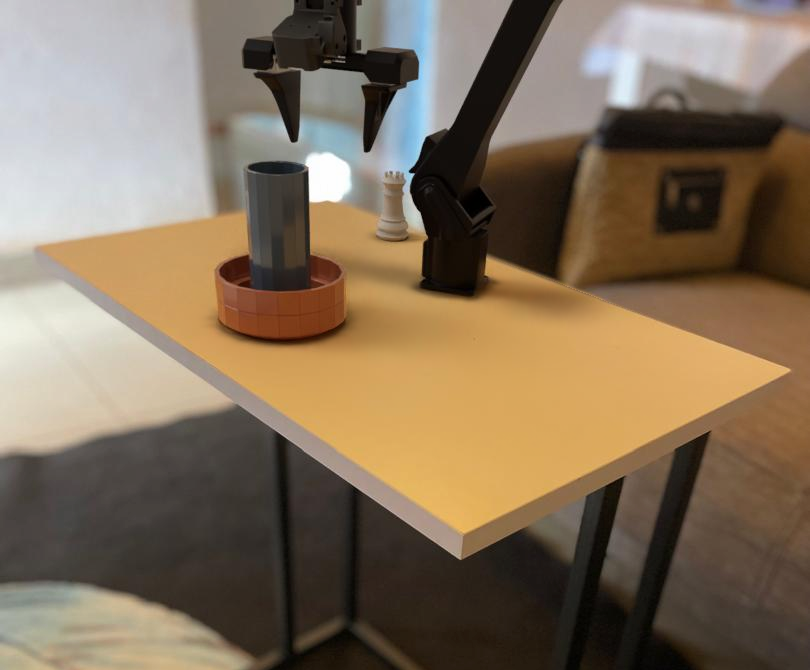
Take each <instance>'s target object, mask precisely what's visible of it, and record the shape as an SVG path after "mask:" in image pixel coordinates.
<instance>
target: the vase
mask: <svg viewBox="0 0 810 670" xmlns="http://www.w3.org/2000/svg"><path fill="white" fill-rule="evenodd" d="M242 169H243V170H242V171H243V183H244V184H243V185H244V186H243V187H244V200H245V201H244V203H245V214H246V215H245V216H246V230H247V231H246V232H247V246H248V253H249V264H250V279H251V289H255V290H263V291H277V292H279V291H300V290H306V289H311V254H312V253H311V252H312V251H311V250H312V249H311V247H312V246H311V209H310V208H311V207H310V206H311V203H310V168H309V166H308V165H306V164H304V163H299V162H296V161H288V160H259V161H253V162H249V163H247V164H245V165H243V168H242Z"/></svg>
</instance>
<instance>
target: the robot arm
mask: <svg viewBox="0 0 810 670" xmlns="http://www.w3.org/2000/svg"><path fill="white" fill-rule="evenodd" d="M563 1H564V0H511V2H510V5H509V7H508V9H507V11H506V13H505V15H504V17H503V20H502V21H501V23H500V26H499V28H498V30H497V32H496V33H495V35H494V38H493V40H492V42H491V43H490V46H489V48H488V50H487V53H486V55H485V56H484V59H483V61H482V62H481V65H480V67H479V69H478V71H477V74H475V78H474V79H473V81H472V84H471V86H470V88H469V90H468V92H467V94H466V96H465V99H464V100H463V102H462V105H461V107H460V109H459V111H458V113H457V115H456V117H455V119H454V121H453V123H452V124H451V126H450V127H449V129H448V128H443V129H441V130H438V131H435V132H433V133H431V134H429V135H426V136H425V138H424V141H423V143H422V144H421V148H420V152H419V155H418V158H417V160H416V161H415V163H414V165H413V166H412V167H411V168H410V169H409V170H408V173H409V174H412V175H413V176H412V178H411V180H410V184H409V194H410V196H411V200H412V203H413V205H414V207H415V209H416V210H417V211H418V212H419V213H420V217H421V220H422V225H423V228H424V232H425V236H427V238H426V239H425V240H423V242H422V254H421V255H422V256H421V257H422V258H421V277H422V278H423V279H421V280H420V281H419V287H420V288H424V289H430V290H435V291H441V292H447V293H451V294H457V295H464V296H471V297H472V296H474V295H475V294H476V293H477V292H478V291H480V289H481V288H483V286H484V285H486V284H487V283H488V282H489V280H490V276H489V275H486V265H487V254H488V247H489V246H488V245H489V236H490V235H489V234H490V230H489V229H485V228H484V227H486V226H487V225H490V224H491V221H492V219H493V217H494V214H495V212H496V210H497V206H496V204H495V203H494V201H493V200H492V199H491V197H490V196H489V195H488V193H487V192H486V190H485V189H484V188H483V187H482V185H481V181H482V178H483V176H484V175H483V174H484V173H485V169H486V166H487V160H488V154H489V148H490V143H491V140H492V137H493V135H494V133H495V132H496V130H497V128H498V125H499V124H500V122H501V120H502V118H503V116H504V114H505V112H506V110H507V108H508V107H509V105H510V103H511V100H512V98H513V96H514V95H515V93H516V91H517V90H518V87H519V85H520V84H521V81H522V79H523V77H524V76H525V73H526V71H527V70H528V67H529V66H530V64H531V62H532V60H533V58H534V56H535V54H536V52H537V50H538V48H539V46H540V44H541V42H542V41H543V38H544V37H545V35H546V32H547V31H548V29H549V27H550V25H551V23H552V21H553V19H554V18H555V15H556V14H557V12H558V10H559V7H560V6H561V4H562V3H563ZM358 6H363V0H293V10H292V14H290V15H288V16H286V17H285V18H284V19H283V20H282V21H281V22H280V23H279V24H278V25H277V26H275V28H274V29H273V30H272V31H271V35H263V36H256V37H255V36H254V37H248V38H246V39H245V41H244V43H243V46H242V48H241V65H242V68H243V69H246V70H255V71H256V72H253V73H252V74H253V77H254V78H255V79H258V80H261V81H262V83H263V84H265V85H266V87H267V88H268V89H269V90H270V92H271V94H272V97H273V99H274V101H275V103H276V105H277V108H278V111H279V114H280V116H281V119H282V122H283V125H284V128H285V130H286V133H287V136H288V138H289V142H290V143H292V144H296V143H298V141H299V136H300V127H301V90H302V89H301V88H302V87H301V84H302V70H303V71H304V72H316V71H318V70H320V69H325V70H334V71H342V72H343V71H344V72H352V73H353V72H354V73H363V74H364V76H365V78H366V79H367V80H368V81H369V82H368V83H365V84H361V85H360V87H361V91H362V95H363V98H364V110H363V111H364V113H363V127H362V128H363V130H362V146H363V147H362V148H363V153H366V154H368V153H370V152H371V151H372V149H373V146H374V145H375V141H376V139H377V136H378V134H379V131H380V129H381V126H382V124H383V121H384V119H385V116H386V114H387V111H388V109H389V107H390V106H391V104H392V102H393V100H394V98H395V96H396V94H397V92H398V91H399V90H403V89H406V88H407V86H408V83H410V82H413V81H418V80H419V77H420V76H419V75H420V60H419V57H418V54H417V52H416V51H415V50H414V49H412V48H411V49H410V48H400V47H389V46H383V47H377V48H371V49H367V50H366V52H361V51H362V39H360V38H357V27H358V26H357V25H358V23H357V21H358V20H357V17H358V16H357V15H358V13H357V11H358V9H357V8H358ZM359 51H360V52H359ZM292 68H293V69H292Z"/></svg>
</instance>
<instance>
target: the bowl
mask: <svg viewBox="0 0 810 670" xmlns="http://www.w3.org/2000/svg"><path fill="white" fill-rule="evenodd" d="M213 272H214V284H215V285H214V286H215V297H216V306H217V307H216V309H217V316H218V320H219V321H220V322H221V323H222V324H224V326H226V327H228V328H230V329H232V330H234V331H236V332H238V333H241V334H243V335H246V336H250V337H254V338H258V339H265V340H266V339H267V340H280V341H281V340H284V341H285V340H298V339H305V338H310V337H316V336H318V335H322V334H324V333H326V332H328V331H331V330H332V329H335V328H336V327H338V326H339V325H341V324H342V323H343V322H344V321H345V319H346V317H347V311H348V310H347V309H348V308H347V307H348V306H347V305H348V303H347V302H348V301H347V300H348V299H347V290H348V289H347V288H348V286H347V285H348V284H347V282H348V281H347V280H348V279H347V278H348V277H347V276H348V275H347V274H348V273H347V270H346V268H345V267H344V265H343V264H342V263H340V262H338V261H337V260H335V259H333V258H330V257H327V256H325V255H321V254H317V253H311V289H306V290H300V291H279V292H277V291H263V290H255V289H251V279H250V264H249V252H248V253H243V254H238V255H235V256H231V257H229V258H227V259H225V260H223V261H220V262H219V263H218V264H217V265H216V267H215V268H214V269H213Z"/></svg>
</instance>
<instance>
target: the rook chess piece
mask: <svg viewBox="0 0 810 670" xmlns="http://www.w3.org/2000/svg"><path fill="white" fill-rule="evenodd" d="M383 174H384V176H383V177H382V179H381V183H382V184H383V186H384V190H383V191H382V195H383V206H382V211H381V215H379V219H378V220H377V223H376V228H377V229H376V231H375V235H376V236H377V237H378V238H379V239H380V240H384V241H390V242H391V241H392V242H397V241H403V240H405V239H407V237H409V234H410V233H409V231H407V230H408V229H409V223H408V221H407V220H406V216H405V213H404V205H403V203H404V202H403V197H404V195H405V192H404V190H403V189H404V186H405V185H406V184H407V180H406V178H405V173H404V172H403V171H400V170H396V171H395V173H394V170H388V171H384V173H383Z"/></svg>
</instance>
